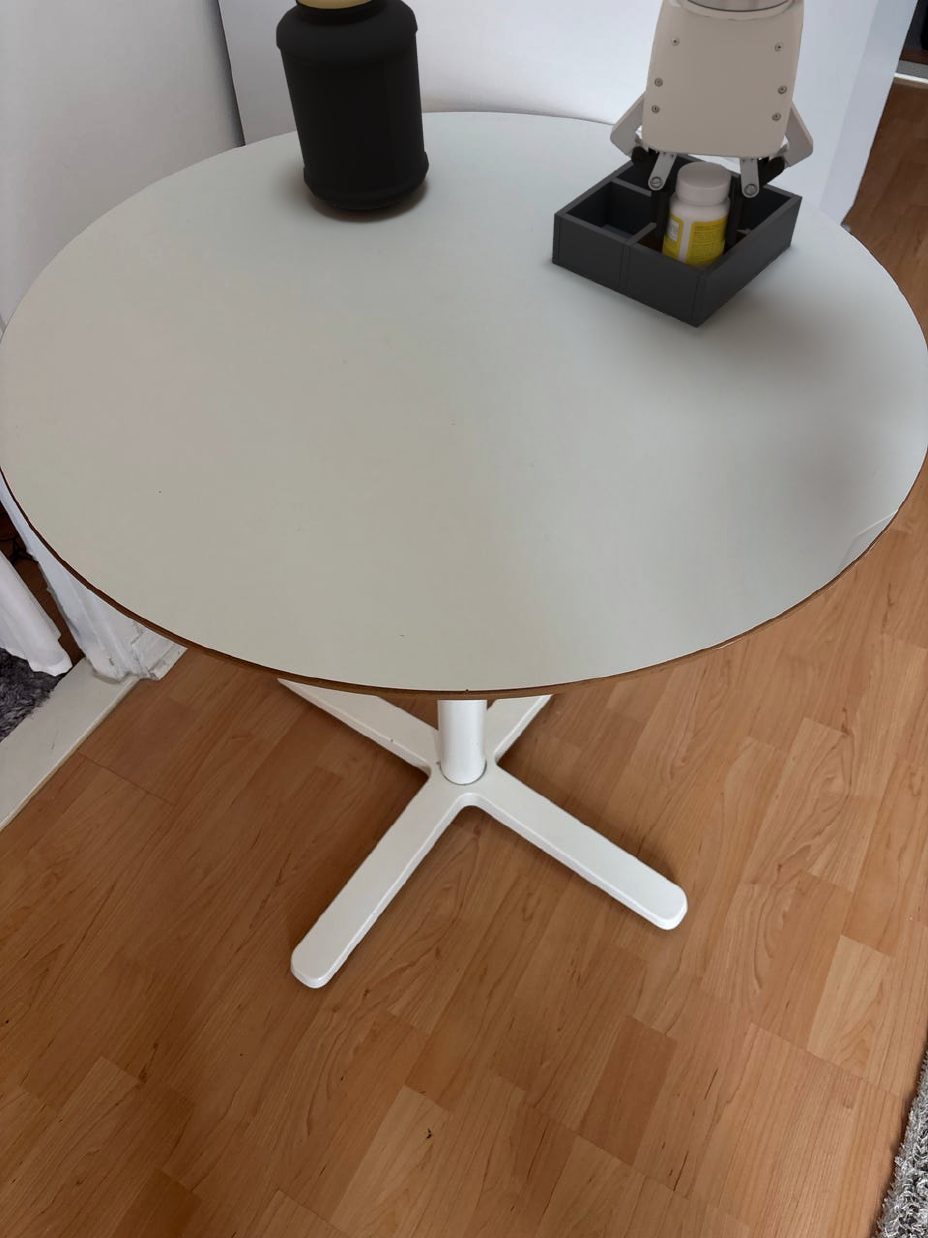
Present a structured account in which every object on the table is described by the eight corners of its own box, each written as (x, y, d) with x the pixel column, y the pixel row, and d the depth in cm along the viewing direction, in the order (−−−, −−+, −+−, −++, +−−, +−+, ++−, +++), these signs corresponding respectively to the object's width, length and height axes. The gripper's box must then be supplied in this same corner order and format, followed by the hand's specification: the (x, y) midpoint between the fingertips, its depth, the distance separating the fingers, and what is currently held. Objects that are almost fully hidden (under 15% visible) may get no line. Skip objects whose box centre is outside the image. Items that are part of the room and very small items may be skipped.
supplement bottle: (727, 267, 81) (747, 167, 74) (704, 296, 79) (722, 196, 72) (673, 251, 83) (688, 152, 76) (649, 279, 80) (662, 180, 74)
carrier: (790, 245, 85) (803, 196, 82) (697, 327, 79) (706, 278, 75) (648, 189, 91) (654, 141, 88) (551, 262, 85) (553, 213, 81)
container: (280, 181, 94) (240, -32, 80) (388, 143, 98) (368, -67, 83) (341, 239, 88) (310, 19, 73) (454, 196, 92) (445, -21, 77)
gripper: (873, -45, 64) (806, 216, 79) (612, -55, 67) (593, 199, 81) (878, 2, 60) (805, 269, 74) (598, -11, 62) (581, 250, 77)
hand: (695, 230), depth 78 cm, fingers closed on supplement bottle, 4 cm apart
